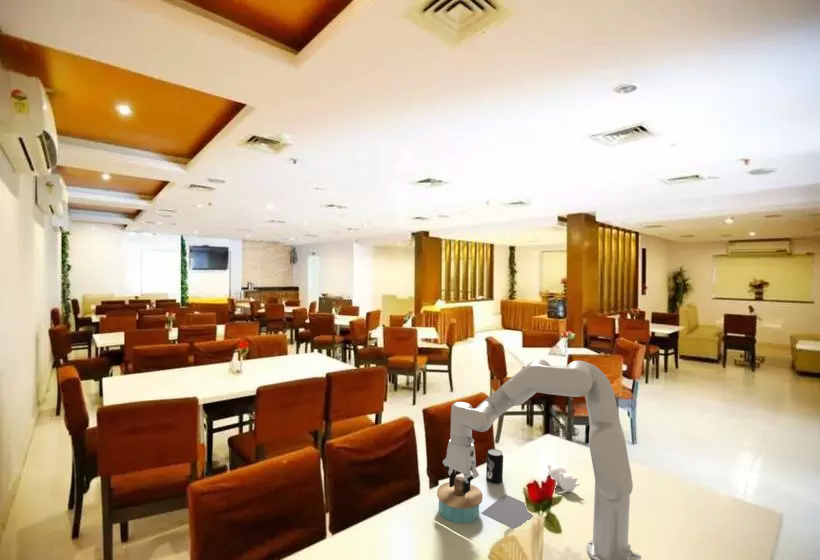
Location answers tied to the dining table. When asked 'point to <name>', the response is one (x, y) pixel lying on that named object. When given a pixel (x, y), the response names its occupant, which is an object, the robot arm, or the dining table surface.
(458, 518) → the bowl
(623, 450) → the robot arm
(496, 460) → the beverage can
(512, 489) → the dining table surface
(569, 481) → the cat figurine
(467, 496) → the lid
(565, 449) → the dining table surface
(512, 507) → the mat
